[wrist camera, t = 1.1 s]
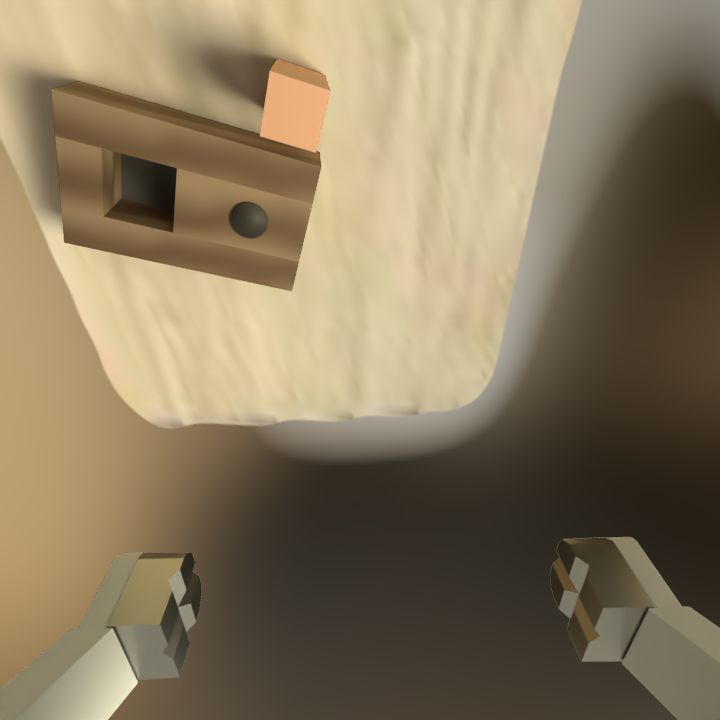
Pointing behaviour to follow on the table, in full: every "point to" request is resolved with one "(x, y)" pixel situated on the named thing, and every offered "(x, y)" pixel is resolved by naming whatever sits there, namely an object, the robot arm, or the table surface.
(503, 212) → the table surface
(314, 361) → the table surface
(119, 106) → the socket block
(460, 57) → the table surface
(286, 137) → the square peg
